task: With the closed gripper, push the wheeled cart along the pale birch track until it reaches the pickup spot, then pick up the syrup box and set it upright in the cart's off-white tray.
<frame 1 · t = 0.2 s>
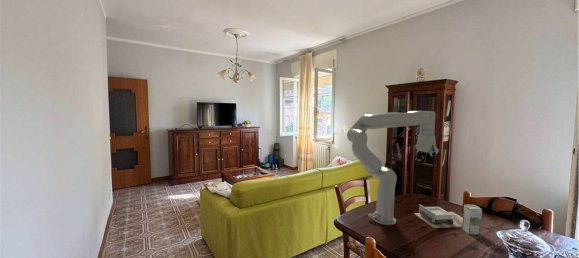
hand: (425, 161, 141), 36 cm above the table, tool pointing down, fingers open, 9 cm apart
syrup box: (470, 232, 129), on the table
cart: (436, 213, 142), point 4 cm above the table, slide at 0.0 cm
track: (443, 219, 143), on the table
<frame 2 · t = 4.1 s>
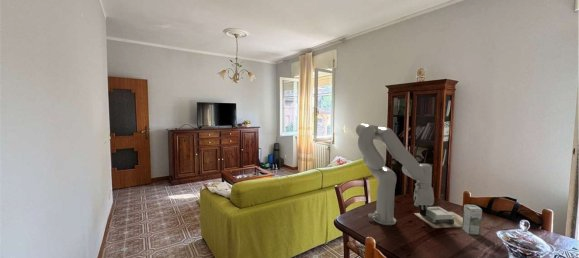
hand: (422, 215, 142), 3 cm above the table, tool pointing down, fingers closed
cart: (436, 213, 142), point 4 cm above the table, slide at 0.4 cm, touching gripper
everything else where it was.
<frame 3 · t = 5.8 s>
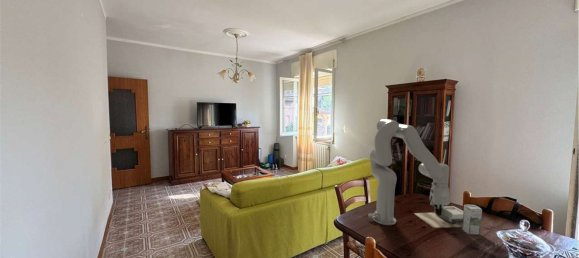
hand: (438, 214, 143), 3 cm above the table, tool pointing down, fingers closed
cart: (452, 213, 143), point 4 cm above the table, slide at 10.3 cm, touching gripper
everything else where it was.
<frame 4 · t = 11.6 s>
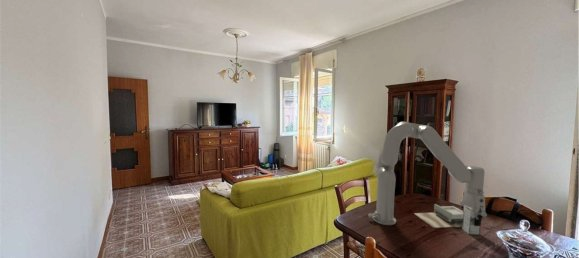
hand: (471, 222, 128), 6 cm above the table, tool pointing down, fingers closed on syrup box, 6 cm apart
syrup box: (470, 232, 129), on the table, touching gripper
cart: (451, 213, 143), point 4 cm above the table, slide at 10.0 cm
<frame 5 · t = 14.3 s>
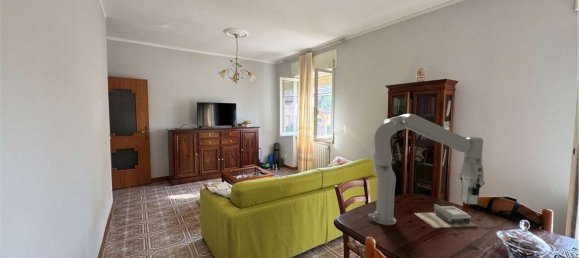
hand: (469, 192, 129), 21 cm above the table, tool pointing down, fingers closed on syrup box, 6 cm apart
syrup box: (469, 203, 130), point 15 cm above the table, touching gripper
everything else where it was.
when the fingers open (11 cm above the table, at t = 17.4 s): syrup box drops 1 cm, resting on cart.
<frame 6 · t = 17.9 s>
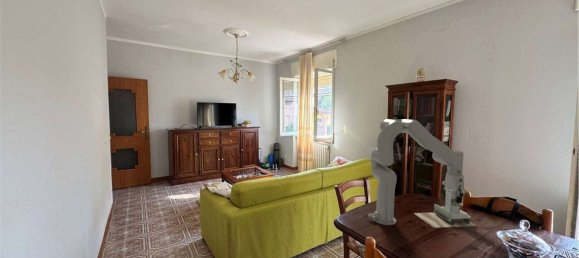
hand: (452, 199, 143), 12 cm above the table, tool pointing down, fingers open, 9 cm apart
syrup box: (451, 212, 143), point 4 cm above the table, touching cart
cart: (451, 213, 143), point 4 cm above the table, slide at 9.9 cm, touching syrup box
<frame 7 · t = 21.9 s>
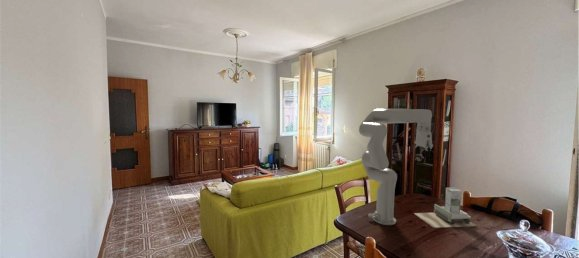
hand: (422, 155, 153), 36 cm above the table, tool pointing down, fingers open, 9 cm apart
nothing on the table moved.
at the end: cart slide at 9.9 cm; syrup box inside the target area (0.4 cm from its centre), point 4.3 cm above the table; syrup box tilted 0° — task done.
